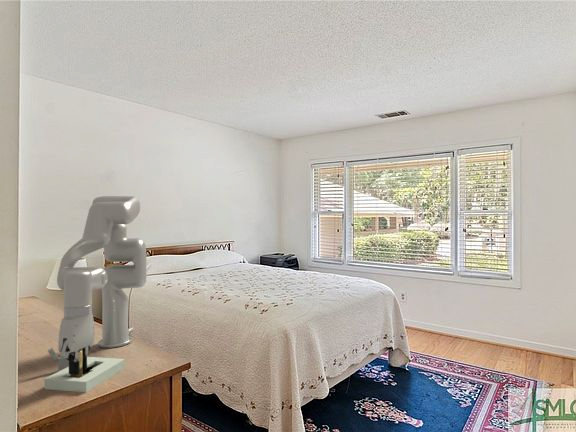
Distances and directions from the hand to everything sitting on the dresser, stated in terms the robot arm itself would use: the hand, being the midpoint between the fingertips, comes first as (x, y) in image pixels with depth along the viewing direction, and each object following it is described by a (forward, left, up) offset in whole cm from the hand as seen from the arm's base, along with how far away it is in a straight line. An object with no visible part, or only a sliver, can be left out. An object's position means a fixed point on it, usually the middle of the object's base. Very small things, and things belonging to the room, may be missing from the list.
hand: (78, 371), depth 111 cm
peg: (0, 0, -3) cm, 3 cm away
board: (-4, 0, -4) cm, 5 cm away
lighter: (-8, -13, -4) cm, 16 cm away
